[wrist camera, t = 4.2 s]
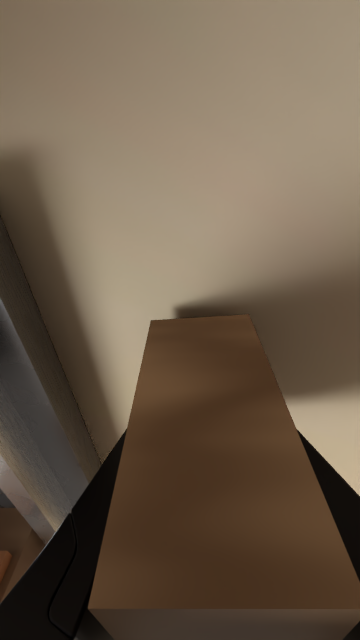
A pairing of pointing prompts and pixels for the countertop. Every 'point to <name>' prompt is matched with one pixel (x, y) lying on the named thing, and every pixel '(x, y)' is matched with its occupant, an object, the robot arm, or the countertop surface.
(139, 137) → the countertop surface
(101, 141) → the countertop surface
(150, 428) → the brown wooden block
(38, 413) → the rail
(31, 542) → the fixed walnut finger
